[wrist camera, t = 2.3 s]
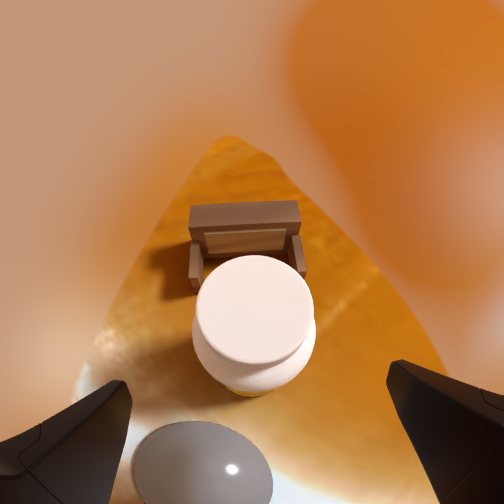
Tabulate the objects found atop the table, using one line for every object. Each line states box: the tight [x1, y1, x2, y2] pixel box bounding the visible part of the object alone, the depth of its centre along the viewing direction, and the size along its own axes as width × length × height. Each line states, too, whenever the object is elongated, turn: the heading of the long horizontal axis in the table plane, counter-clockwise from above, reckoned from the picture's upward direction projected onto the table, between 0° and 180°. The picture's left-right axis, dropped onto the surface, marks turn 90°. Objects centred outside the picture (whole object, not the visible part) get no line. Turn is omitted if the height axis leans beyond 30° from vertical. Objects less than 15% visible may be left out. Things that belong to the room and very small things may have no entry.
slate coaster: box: [133, 421, 273, 504], centre depth 12 cm, size 9×9×1 cm
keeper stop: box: [188, 200, 307, 294], centre depth 19 cm, size 5×8×4 cm, turn 94°
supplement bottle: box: [192, 255, 316, 397], centre depth 13 cm, size 5×5×10 cm
